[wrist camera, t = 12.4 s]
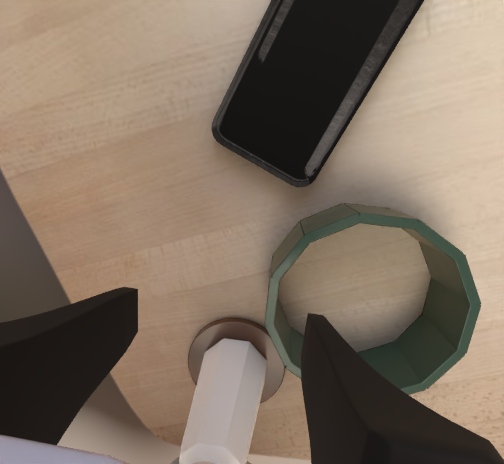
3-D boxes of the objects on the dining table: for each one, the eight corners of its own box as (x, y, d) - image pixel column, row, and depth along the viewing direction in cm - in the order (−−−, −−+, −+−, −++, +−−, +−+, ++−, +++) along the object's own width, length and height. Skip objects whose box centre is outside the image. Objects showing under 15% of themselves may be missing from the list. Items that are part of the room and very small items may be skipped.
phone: (451, -45, 16) (306, 193, 19) (440, -31, 17) (305, 192, 21) (327, -120, 16) (203, 134, 19) (324, -101, 17) (208, 136, 20)
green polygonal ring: (416, 368, 23) (447, 416, 18) (261, 344, 24) (256, 385, 19) (456, 215, 20) (505, 229, 16) (279, 195, 21) (279, 203, 17)
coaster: (278, 409, 25) (278, 415, 24) (187, 393, 25) (185, 399, 25) (290, 325, 23) (291, 329, 22) (192, 311, 24) (190, 314, 23)
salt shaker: (192, 375, 24) (121, 539, 14) (219, 324, 23) (165, 461, 12) (249, 405, 24) (223, 591, 14) (280, 356, 23) (278, 519, 12)
